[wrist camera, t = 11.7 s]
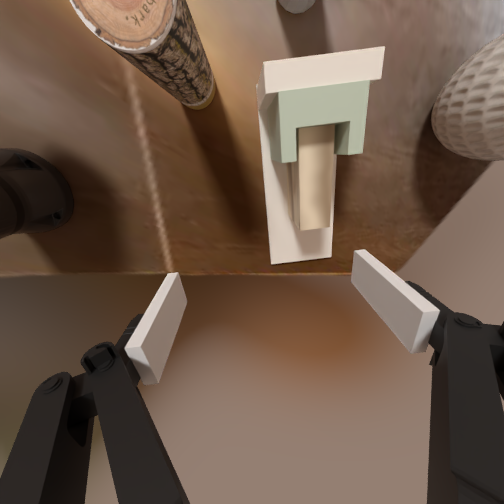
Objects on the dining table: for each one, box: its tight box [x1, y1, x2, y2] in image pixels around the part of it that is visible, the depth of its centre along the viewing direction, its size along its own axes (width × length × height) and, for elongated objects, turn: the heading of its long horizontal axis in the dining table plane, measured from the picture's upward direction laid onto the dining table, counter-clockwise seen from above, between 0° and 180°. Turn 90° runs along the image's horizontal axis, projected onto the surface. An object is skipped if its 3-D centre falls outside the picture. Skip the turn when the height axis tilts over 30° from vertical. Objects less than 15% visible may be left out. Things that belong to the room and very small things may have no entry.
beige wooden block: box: [286, 124, 335, 231], centre depth 37 cm, size 5×15×10 cm, turn 6°
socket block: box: [267, 80, 370, 163], centre depth 33 cm, size 11×8×12 cm
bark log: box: [70, 0, 216, 110], centre depth 24 cm, size 7×7×25 cm
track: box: [256, 46, 385, 264], centre depth 38 cm, size 14×34×13 cm, turn 6°
